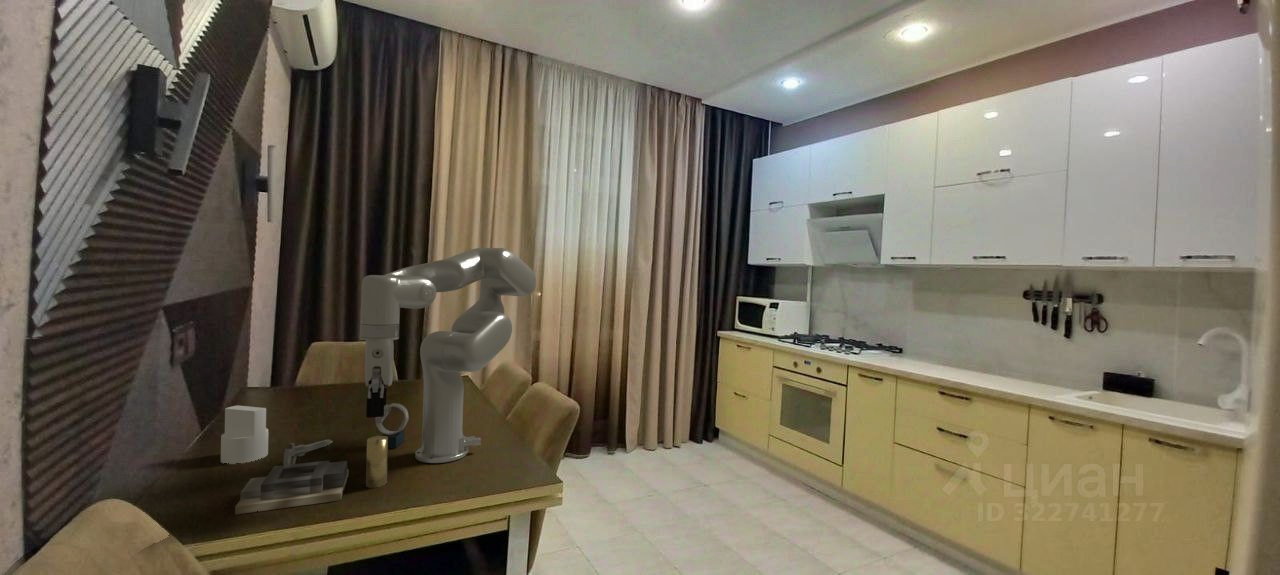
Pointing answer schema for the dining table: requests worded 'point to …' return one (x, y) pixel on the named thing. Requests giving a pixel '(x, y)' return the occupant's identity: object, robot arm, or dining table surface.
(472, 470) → the dining table surface
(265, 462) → the dining table surface
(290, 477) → the gray stepped fixture base
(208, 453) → the dining table surface
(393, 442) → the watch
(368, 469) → the brass pin
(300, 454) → the caliper
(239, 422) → the cylinder with rectangular tab
